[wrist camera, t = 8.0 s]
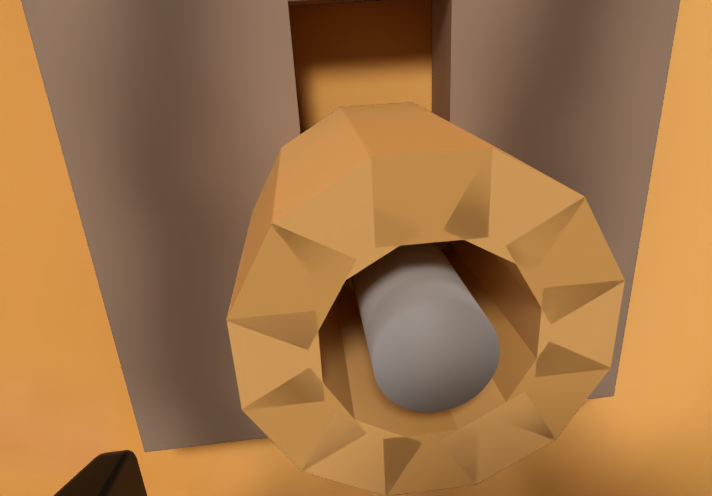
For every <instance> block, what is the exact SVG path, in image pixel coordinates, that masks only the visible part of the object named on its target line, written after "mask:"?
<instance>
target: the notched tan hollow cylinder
mask: <svg viewBox="0 0 712 496" xmlns="http://www.w3.org/2000/svg"><path fill="white" fill-rule="evenodd" d="M444 241H449V242H448V244H447V246H446V247H445V249H444V251H443V254H444V255H445V257H446V258H447V259H448V261H449V262H450V264H451V265H452V267H453V268H454V270H455V271H456V273H457V274H458V276H459V277H460V279H461V280H462V282H463V283H464V285H465V286H466V287H467V289H468V290H469V292H470V293H471V295H472V296H473V298H474V299H475V301H476V302H477V304H478V305H479V307H480V308H481V310H482V311H483V313H484V314H485V315H486V317H487V318H488V320H489V321H490V323H491V324H492V326H493V327H494V329H495V331H496V333H497V336H498V339H499V344H500V357H499V362H498V366H497V369H496V371H495V373H494V375H493V377H492V379H491V380H490V382H489V383H488V384H487V386H486V387H485V388H484V389H483V390H482V391H481V392H480V393H479V394H477V395H476V396H475V397H474V398H472V399H471V400H469V401H468V402H466V403H464V404H462V405H460V406H458V407H455V408H453V409H449V410H445V411H440V412H430V413H428V412H417V411H412V410H408V409H405V408H403V407H401V406H399V405H397V404H395V403H393V402H392V401H391V400H390V399H388V398H387V397H386V396H385V394H384V393H383V392H382V391H381V389H380V388H379V386H378V384H377V382H376V379H375V375H374V371H373V367H372V363H371V358H370V354H369V350H368V345H367V341H366V337H365V333H364V328H363V324H362V320H361V315H360V311H359V307H358V302H357V298H356V294H355V290H354V289H352V288H349V287H347V286H344V285H343V284H344V282H345V281H346V280H347V279H348V278H350V277H352V276H353V275H355V274H356V273H358V272H359V271H361V270H362V269H364V268H366V267H367V266H369V265H370V264H372V263H373V262H375V261H377V260H378V259H380V258H381V257H383V256H384V255H386V254H388V253H389V252H391V251H392V250H394V249H395V248H397V247H398V246H400V245H411V244H422V243H433V242H444ZM624 283H625V279H624V277H623V275H622V273H621V271H620V269H619V267H618V265H617V263H616V261H615V259H614V256H613V254H612V252H611V250H610V248H609V246H608V244H607V242H606V240H605V238H604V236H603V233H602V231H601V229H600V227H599V225H598V223H597V221H596V219H595V217H594V215H593V213H592V210H591V208H590V206H589V204H588V202H587V200H586V197H585V196H583V195H581V194H579V193H578V192H576V191H574V190H572V189H570V188H569V187H567V186H565V185H563V184H561V183H560V182H558V181H556V180H554V179H552V178H551V177H549V176H547V175H545V174H543V173H542V172H540V171H538V170H536V169H534V168H533V167H531V166H529V165H527V164H525V163H524V162H522V161H520V160H518V159H516V158H515V157H513V156H511V155H509V154H507V153H506V152H504V151H502V150H500V149H498V148H497V147H495V146H493V145H491V144H490V143H488V142H486V141H484V140H482V139H481V138H479V137H477V136H475V135H473V134H472V133H469V132H467V131H465V130H464V129H462V128H460V127H458V126H456V125H454V124H452V123H450V122H449V121H447V120H445V119H443V118H441V117H439V116H437V115H435V114H433V113H432V112H430V111H428V110H426V109H424V108H422V107H420V106H419V105H417V104H415V103H413V102H405V103H390V104H376V105H361V106H346V107H340V108H338V109H337V110H335V111H334V112H332V113H331V114H329V115H328V116H327V117H325V118H324V119H322V120H321V121H319V122H318V123H316V124H315V125H313V126H312V127H311V128H309V129H308V130H306V131H305V132H303V133H302V134H300V135H299V136H298V137H296V138H295V139H293V140H292V141H290V142H289V143H287V144H286V145H284V146H283V147H281V150H280V152H279V154H278V156H277V158H276V161H275V163H274V165H273V167H272V169H271V172H270V174H269V176H268V178H267V180H266V183H265V185H264V187H263V189H262V191H261V194H260V196H259V198H258V200H257V202H256V205H255V207H254V209H253V212H252V216H251V220H250V224H249V229H248V233H247V237H246V241H245V245H244V249H243V253H242V257H241V262H240V266H239V270H238V274H237V278H236V282H235V286H234V290H233V294H232V299H231V303H230V307H229V311H228V315H227V319H226V321H227V326H228V332H229V337H230V343H231V349H232V355H233V361H234V367H235V372H236V378H237V384H238V390H239V396H240V402H241V408H242V409H241V410H242V411H243V412H244V413H245V414H246V415H247V416H248V417H249V418H250V419H251V420H252V421H253V422H254V423H255V424H256V425H257V426H258V427H259V428H260V429H261V430H262V431H263V432H264V433H265V434H266V435H267V436H268V437H269V438H270V439H271V440H272V441H273V442H274V443H275V444H276V445H277V446H278V447H279V448H280V449H281V450H282V451H283V452H284V453H285V455H286V456H287V457H288V458H289V459H290V460H291V461H292V462H293V463H294V464H295V465H296V466H297V467H298V468H299V469H300V470H301V471H302V472H306V473H309V474H312V475H316V476H319V477H323V478H326V479H329V480H333V481H336V482H339V483H343V484H346V485H350V486H353V487H356V488H360V489H363V490H366V491H370V492H373V493H377V494H380V495H383V496H392V495H400V494H408V493H415V492H423V491H431V490H439V489H446V488H454V487H462V486H470V485H476V484H478V483H480V482H481V481H483V480H485V479H487V478H489V477H490V476H492V475H494V474H496V473H497V472H499V471H501V470H503V469H505V468H506V467H508V466H510V465H512V464H514V463H515V462H517V461H519V460H521V459H522V458H524V457H526V456H528V455H530V454H531V453H533V452H535V451H537V450H539V449H540V448H542V447H544V446H546V445H548V444H549V443H551V442H553V441H555V440H556V439H557V437H558V436H559V435H560V434H561V432H562V431H563V430H564V428H565V427H566V426H567V424H568V423H569V422H570V420H571V419H572V418H573V417H574V415H575V414H576V413H577V411H578V410H579V409H580V407H581V406H582V405H583V404H584V402H585V401H586V400H587V398H588V397H589V396H590V394H591V393H592V392H593V390H594V389H595V388H596V387H597V385H598V384H599V383H600V381H601V380H602V379H603V377H604V376H605V375H606V374H607V372H608V371H609V370H610V369H611V363H612V356H613V350H614V344H615V338H616V332H617V326H618V320H619V314H620V307H621V301H622V295H623V289H624Z"/></svg>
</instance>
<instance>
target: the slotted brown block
mask: <svg viewBox="0 0 712 496" xmlns="http://www.w3.org/2000/svg"><path fill="white" fill-rule="evenodd" d="M362 1H381V0H21V2H22V6H23V10H24V13H25V17H26V20H27V24H28V28H29V31H30V35H31V39H32V42H33V46H34V50H35V53H36V57H37V61H38V64H39V68H40V72H41V75H42V79H43V83H44V86H45V90H46V93H47V97H48V101H49V104H50V108H51V112H52V115H53V119H54V123H55V126H56V130H57V134H58V137H59V141H60V145H61V148H62V152H63V155H64V159H65V163H66V166H67V170H68V174H69V177H70V181H71V185H72V188H73V192H74V196H75V199H76V203H77V207H78V210H79V214H80V218H81V221H82V225H83V228H84V232H85V236H86V239H87V243H88V247H89V250H90V254H91V258H92V261H93V265H94V269H95V272H96V276H97V280H98V283H99V287H100V291H101V294H102V298H103V301H104V305H105V309H106V312H107V316H108V320H109V323H110V327H111V331H112V334H113V338H114V342H115V345H116V349H117V353H118V356H119V360H120V363H121V367H122V371H123V374H124V378H125V382H126V385H127V389H128V393H129V396H130V400H131V404H132V407H133V411H134V415H135V418H136V422H137V426H138V429H139V433H140V436H141V440H142V444H143V447H144V451H145V452H151V451H159V450H168V449H176V448H184V447H193V446H201V445H209V444H218V443H226V442H235V441H243V440H251V439H260V438H268V436H267V435H266V434H265V433H264V432H263V431H262V430H261V429H260V428H259V427H258V426H257V425H256V424H255V423H254V422H253V421H252V420H251V419H250V418H249V417H248V416H247V415H246V414H245V413H244V412H243V411H242V410H241V409H242V408H241V402H240V396H239V390H238V384H237V378H236V372H235V367H234V361H233V355H232V349H231V343H230V337H229V332H228V326H227V321H226V319H227V315H228V311H229V307H230V303H231V299H232V294H233V290H234V286H235V282H236V278H237V274H238V270H239V266H240V262H241V257H242V253H243V249H244V245H245V241H246V237H247V233H248V229H249V224H250V220H251V216H252V212H253V209H254V207H255V205H256V202H257V200H258V198H259V196H260V194H261V191H262V189H263V187H264V185H265V183H266V180H267V178H268V176H269V174H270V172H271V169H272V167H273V165H274V163H275V161H276V158H277V156H278V154H279V152H280V150H281V147H283V146H284V145H286V144H287V143H289V142H290V141H292V140H293V139H295V138H296V137H298V136H299V135H300V134H301V130H300V119H299V109H298V98H297V88H296V77H295V67H294V56H293V46H292V35H291V24H290V14H289V5H307V4H326V3H344V2H362ZM679 4H680V0H432V113H433V114H435V115H437V116H439V117H441V118H443V119H445V120H447V121H449V122H450V123H452V124H454V125H456V126H458V127H460V128H462V129H464V130H465V131H467V132H469V133H472V134H473V135H475V136H477V137H479V138H481V139H482V140H484V141H486V142H488V143H490V144H491V145H493V146H495V147H497V148H498V149H500V150H502V151H504V152H506V153H507V154H509V155H511V156H513V157H515V158H516V159H518V160H520V161H522V162H524V163H525V164H527V165H529V166H531V167H533V168H534V169H536V170H538V171H540V172H542V173H543V174H545V175H547V176H549V177H551V178H552V179H554V180H556V181H558V182H560V183H561V184H563V185H565V186H567V187H569V188H570V189H572V190H574V191H576V192H578V193H579V194H581V195H583V196H585V197H586V200H587V202H588V204H589V206H590V208H591V210H592V213H593V215H594V217H595V219H596V221H597V223H598V225H599V227H600V229H601V231H602V233H603V236H604V238H605V240H606V242H607V244H608V246H609V248H610V250H611V252H612V254H613V256H614V259H615V261H616V263H617V265H618V267H619V269H620V271H621V273H622V275H623V277H624V279H625V283H624V289H623V295H622V301H621V307H620V314H619V320H618V326H617V332H616V338H615V344H614V350H613V356H612V363H611V369H610V370H609V371H608V372H607V374H606V375H605V376H604V377H603V379H602V380H601V381H600V383H599V384H598V385H597V387H596V388H595V389H594V390H593V392H592V393H591V394H590V396H589V397H588V398H587V399H594V398H603V397H611V396H614V391H615V385H616V379H617V373H618V367H619V361H620V355H621V349H622V343H623V337H624V331H625V325H626V320H627V314H628V308H629V302H630V296H631V290H632V284H633V278H634V272H635V266H636V260H637V254H638V248H639V242H640V236H641V230H642V224H643V218H644V212H645V206H646V200H647V194H648V189H649V183H650V177H651V171H652V165H653V159H654V153H655V147H656V141H657V135H658V129H659V123H660V117H661V111H662V105H663V99H664V93H665V87H666V81H667V75H668V69H669V63H670V58H671V52H672V46H673V40H674V34H675V28H676V22H677V16H678V10H679ZM448 242H449V241H444V242H433V243H422V244H411V245H400V246H398V247H397V248H395V249H394V250H392V251H391V252H389V253H388V254H386V255H384V256H383V257H381V258H380V259H378V260H377V261H375V262H373V263H372V264H370V265H369V266H367V267H366V268H364V269H362V270H361V271H359V272H358V273H356V274H355V275H353V276H352V281H353V285H354V290H355V294H356V298H357V302H358V307H359V311H360V315H361V320H362V324H363V328H364V333H365V337H366V341H367V345H368V350H369V354H370V358H371V363H372V367H373V371H374V375H375V379H376V382H377V384H378V386H379V388H380V389H381V391H382V392H383V393H384V394H385V396H386V397H387V398H388V399H390V400H391V401H392V402H393V403H395V404H397V405H399V406H401V407H403V408H405V409H408V410H412V411H417V412H428V413H430V412H440V411H445V410H449V409H453V408H455V407H458V406H460V405H462V404H464V403H466V402H468V401H469V400H471V399H472V398H474V397H475V396H476V395H477V394H479V393H480V392H481V391H482V390H483V389H484V388H485V387H486V386H487V384H488V383H489V382H490V380H491V379H492V377H493V375H494V373H495V371H496V369H497V366H498V362H499V357H500V344H499V339H498V336H497V333H496V331H495V329H494V327H493V326H492V324H491V323H490V321H489V320H488V318H487V317H486V315H485V314H484V313H483V311H482V310H481V308H480V307H479V305H478V304H477V302H476V301H475V299H474V298H473V296H472V295H471V293H470V292H469V290H468V289H467V287H466V286H465V285H464V283H463V282H462V280H461V279H460V277H459V276H458V274H457V273H456V271H455V270H454V268H453V267H452V265H451V264H450V262H449V261H448V259H447V258H446V257H445V255H444V254H443V251H444V249H445V247H446V246H447V244H448Z"/></svg>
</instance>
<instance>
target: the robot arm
mask: <svg viewBox="0 0 712 496" xmlns="http://www.w3.org/2000/svg"><path fill="white" fill-rule="evenodd" d="M54 496H147V493H146V489H145V486H144V482H143V479H142V475H141V472H140V468H139V465H138V461H137V458H136V456H135V454H134V453H133V452H132V451H129V450H124V451H116V452H107V453H103V454H100V455H98V456H97V457H96V458H94V459H93V460H92V461H91V462H90V463H89V464H88V465H87V466H86V467H84V468H83V469H82V470H81V471H80V472H79V473H78V474H77V475H76V476H75V477H73V478H72V479H71V480H70V481H69V482H68V483H67V484H66V485H65V486H64V487H62V488H61V489H60V490H59V491H58V492H57V493H56V494H55V495H54Z"/></svg>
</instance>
